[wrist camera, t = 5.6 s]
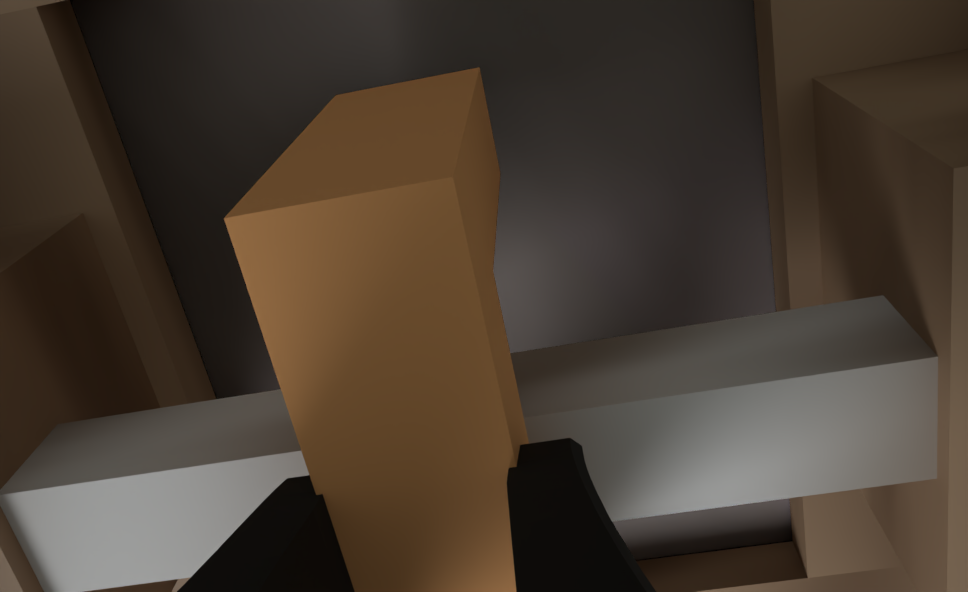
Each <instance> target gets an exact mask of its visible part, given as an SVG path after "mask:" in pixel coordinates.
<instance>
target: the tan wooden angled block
mask: <svg viewBox="0 0 968 592" xmlns="http://www.w3.org/2000/svg"><path fill="white" fill-rule="evenodd" d="M499 187H500V169H499V164H498V159H497V153H496V148H495V143H494V138H493V133H492V128H491V123H490V118H489V113H488V108H487V103H486V97H485V92H484V87H483V82H482V77H481V72H480V67H478V68H473V69H468V70H462V71H457V72H452V73H447V74H442V75H437V76H432V77H426V78H421V79H416V80H411V81H406V82H401V83H396V84H390V85H385V86H380V87H375V88H370V89H365V90H360V91H354V92H349V93H344V94H339V95H335V96H334V97H333V99H332V100H331V101H330V102H329V103H328V104H327V105H326V106H325V107H324V108H323V110H322V111H321V112H320V113H319V114H318V115H317V116H316V117H315V118H314V119H313V121H312V122H311V123H310V124H309V125H308V126H307V127H306V128H305V129H304V130H303V132H302V133H301V134H300V135H299V136H298V137H297V138H296V139H295V140H294V141H293V143H292V144H291V145H290V146H289V147H288V148H287V149H286V150H285V151H284V152H283V154H282V155H281V156H280V157H279V158H278V159H277V160H276V161H275V162H274V163H273V165H272V166H271V167H270V168H269V169H268V170H267V171H266V172H265V173H264V175H263V176H262V177H261V178H260V179H259V180H258V181H257V182H256V183H255V184H254V186H253V187H252V188H251V189H250V190H249V191H248V192H247V193H246V194H245V195H244V197H243V198H242V199H241V200H240V201H239V202H238V203H237V204H236V205H235V206H234V208H233V209H232V210H231V211H230V212H229V213H228V214H227V215H226V216H225V217H224V220H225V223H226V226H227V229H228V232H229V235H230V238H231V241H232V244H233V247H234V250H235V253H236V256H237V259H238V262H239V265H240V268H241V271H242V274H243V277H244V280H245V283H246V286H247V289H248V292H249V295H250V298H251V301H252V304H253V307H254V310H255V313H256V316H257V319H258V322H259V325H260V328H261V331H262V334H263V337H264V340H265V343H266V346H267V349H268V352H269V355H270V358H271V361H272V364H273V367H274V370H275V373H276V376H277V379H278V382H279V385H280V388H281V391H282V394H283V397H284V400H285V403H286V406H287V409H288V412H289V415H290V418H291V421H292V424H293V427H294V430H295V433H296V436H297V439H298V442H299V445H300V448H301V451H302V454H303V457H304V460H305V463H306V466H307V469H308V472H309V475H310V478H311V481H312V484H313V487H314V490H315V493H316V495H320V494H323V497H324V500H325V503H326V506H327V509H328V512H329V515H330V518H331V521H332V524H333V527H334V530H335V533H336V536H337V539H338V542H339V545H340V548H341V551H342V554H343V557H344V560H345V563H346V567H347V570H348V573H349V576H350V579H351V582H352V585H353V588H354V591H355V592H516V582H515V571H514V560H513V550H512V539H511V528H510V517H509V506H508V494H507V476H508V469H509V468H512V467H517V460H518V454H519V449H520V445H523V444H529V441H528V436H527V431H526V426H525V421H524V417H523V412H522V407H521V402H520V398H519V393H518V388H517V383H516V378H515V374H514V369H513V364H512V359H511V355H510V350H509V345H508V340H507V336H506V331H505V326H504V321H503V316H502V312H501V307H500V302H499V297H498V293H497V288H496V283H495V278H494V273H493V264H494V251H495V239H496V226H497V213H498V200H499Z"/></svg>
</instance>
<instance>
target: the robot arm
mask: <svg viewBox="0 0 968 592" xmlns="http://www.w3.org/2000/svg"><path fill="white" fill-rule="evenodd" d="M507 494H508V506H509V517H510V528H511V539H512V550H513V560H514V571H515V582H516V592H656V591H655V589H654V588H653V586H652V585H651V583H650V582H649V580H648V579H647V577H646V576H645V574H644V573H643V571H642V570H641V568H640V567H639V565H638V564H637V562H636V560H635V559H634V557H633V555H632V554H631V552H630V551H629V549H628V547H627V546H626V544H625V542H624V541H623V539H622V538H621V536H620V534H619V533H618V531H617V530H616V528H615V526H614V524H613V522H612V521H611V519H610V517H609V515H608V513H607V511H606V509H605V507H604V505H603V503H602V501H601V499H600V497H599V495H598V493H597V491H596V489H595V487H594V485H593V482H592V480H591V478H590V475H589V472H588V470H587V467H586V463H585V459H584V454H583V448H582V445H580V444H579V443H577V442H576V441H574V440H573V439H571V438H564V439H557V440H551V441H544V442H537V443H530V444H523V445H520V449H519V454H518V460H517V467H512V468H509V469H508V476H507ZM177 592H355V591H354V588H353V585H352V582H351V579H350V576H349V573H348V570H347V567H346V563H345V560H344V557H343V554H342V551H341V548H340V545H339V542H338V539H337V536H336V533H335V530H334V527H333V524H332V521H331V518H330V515H329V512H328V509H327V506H326V503H325V500H324V497H323V494H320V495H316V493H315V490H314V487H313V484H312V481H311V478H310V475H307V476H300V477H293V478H287V479H286V480H285V481H284V482H283V483H281V484H280V485H279V486H278V487H277V488H276V489H275V490H274V491H273V492H272V493H271V494H270V495H269V496H268V497H267V498H266V499H265V500H264V501H263V502H262V503H261V504H260V505H259V506H258V507H257V508H256V509H255V510H254V511H253V512H252V513H251V515H250V516H249V517H248V518H247V519H246V520H245V521H244V522H243V523H242V524H241V525H240V526H239V527H238V528H237V529H236V530H235V531H234V533H233V534H232V535H231V536H230V537H229V538H228V539H227V540H226V541H225V542H224V543H223V544H222V545H221V546H220V547H219V548H218V550H217V551H216V552H215V553H214V554H213V555H212V556H211V557H210V558H209V559H208V560H207V561H206V562H205V563H204V564H203V565H202V566H201V567H200V568H199V569H198V570H197V571H196V572H195V574H194V575H193V576H192V577H191V578H190V579H189V580H188V581H187V582H186V583H185V584H184V585H183V586H182V587H181V588H180V589H179V590H178V591H177Z"/></svg>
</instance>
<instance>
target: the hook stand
mask: <svg viewBox="0 0 968 592" xmlns="http://www.w3.org/2000/svg"><path fill="white" fill-rule="evenodd" d="M754 11H755V24H756V38H757V52H758V66H759V80H760V94H761V108H762V122H763V136H764V150H765V164H766V178H767V192H768V206H769V220H770V234H771V247H772V261H773V275H774V289H775V303H776V312H772V313H766V314H759V315H753V316H747V317H740V318H734V319H727V320H721V321H715V322H708V323H702V324H695V325H689V326H683V327H676V328H670V329H663V330H657V331H651V332H644V333H638V334H631V335H625V336H619V337H612V338H606V339H599V340H593V341H587V342H580V343H574V344H567V345H561V346H555V347H548V348H542V349H535V350H529V351H523V352H516V353H510V355H511V359H512V364H513V369H514V374H515V378H516V383H517V388H518V393H519V398H520V402H521V407H522V412H523V417H524V421H525V426H526V431H527V436H528V441H529V444H530V443H537V442H544V441H551V440H557V439H564V438H571V439H573V440H574V441H576V442H577V443H579V444H580V445H582V448H583V454H584V459H585V463H586V467H587V470H588V472H589V475H590V478H591V480H592V482H593V485H594V487H595V489H596V491H597V493H598V495H599V497H600V499H601V501H602V503H603V505H604V507H605V509H606V511H607V513H608V515H609V517H610V519H611V521H612V522H613V521H621V520H628V519H636V518H643V517H651V516H659V515H666V514H674V513H681V512H689V511H696V510H704V509H711V508H719V507H727V506H734V505H742V504H749V503H757V502H764V501H772V500H779V499H787V498H790V512H791V526H792V540H793V541H791V542H784V543H776V544H768V545H760V546H752V547H744V548H736V549H728V550H720V551H713V552H705V553H697V554H689V555H681V556H673V557H665V558H657V559H649V560H642V561H636V562H637V564H638V565H639V567H640V568H641V570H642V571H643V573H644V574H645V576H646V577H647V579H648V580H649V582H650V583H651V585H652V586H653V588H654V589H655V591H656V592H968V0H754ZM307 475H309V472H308V469H307V466H306V463H305V460H304V457H303V454H302V451H301V448H300V445H299V442H298V439H297V436H296V433H295V430H294V427H293V424H292V421H291V418H290V415H289V412H288V409H287V406H286V403H285V400H284V397H283V394H282V391H281V389H279V390H273V391H266V392H260V393H253V394H247V395H241V396H234V397H228V398H221V399H216V397H215V394H214V391H213V388H212V386H211V383H210V380H209V378H208V375H207V372H206V369H205V367H204V364H203V361H202V359H201V356H200V353H199V350H198V348H197V345H196V342H195V340H194V337H193V334H192V331H191V329H190V326H189V323H188V321H187V318H186V315H185V312H184V310H183V307H182V304H181V302H180V299H179V296H178V293H177V291H176V288H175V285H174V283H173V280H172V277H171V274H170V272H169V269H168V266H167V264H166V261H165V258H164V255H163V253H162V250H161V247H160V244H159V242H158V239H157V236H156V234H155V231H154V228H153V225H152V223H151V220H150V217H149V215H148V212H147V209H146V206H145V204H144V201H143V198H142V196H141V193H140V190H139V187H138V185H137V182H136V179H135V177H134V174H133V171H132V168H131V166H130V163H129V160H128V158H127V155H126V152H125V149H124V147H123V144H122V141H121V139H120V136H119V133H118V130H117V128H116V125H115V122H114V120H113V117H112V114H111V111H110V109H109V106H108V103H107V100H106V98H105V95H104V92H103V90H102V87H101V84H100V81H99V79H98V76H97V73H96V71H95V68H94V65H93V62H92V60H91V57H90V54H89V52H88V49H87V46H86V43H85V41H84V38H83V35H82V33H81V30H80V27H79V24H78V22H77V19H76V16H75V14H74V11H73V8H72V5H71V3H70V0H0V592H177V591H178V590H179V589H180V588H181V587H182V586H183V585H184V584H185V583H186V582H187V581H188V580H189V579H190V578H191V577H192V576H193V575H194V574H195V572H196V571H197V570H198V569H199V568H200V567H201V566H202V565H203V564H204V563H205V562H206V561H207V560H208V559H209V558H210V557H211V556H212V555H213V554H214V553H215V552H216V551H217V550H218V548H219V547H220V546H221V545H222V544H223V543H224V542H225V541H226V540H227V539H228V538H229V537H230V536H231V535H232V534H233V533H234V531H235V530H236V529H237V528H238V527H239V526H240V525H241V524H242V523H243V522H244V521H245V520H246V519H247V518H248V517H249V516H250V515H251V513H252V512H253V511H254V510H255V509H256V508H257V507H258V506H259V505H260V504H261V503H262V502H263V501H264V500H265V499H266V498H267V497H268V496H269V495H270V494H271V493H272V492H273V491H274V490H275V489H276V488H277V487H278V486H279V485H280V484H281V483H283V482H284V481H285V480H286V479H287V478H293V477H300V476H307Z"/></svg>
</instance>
